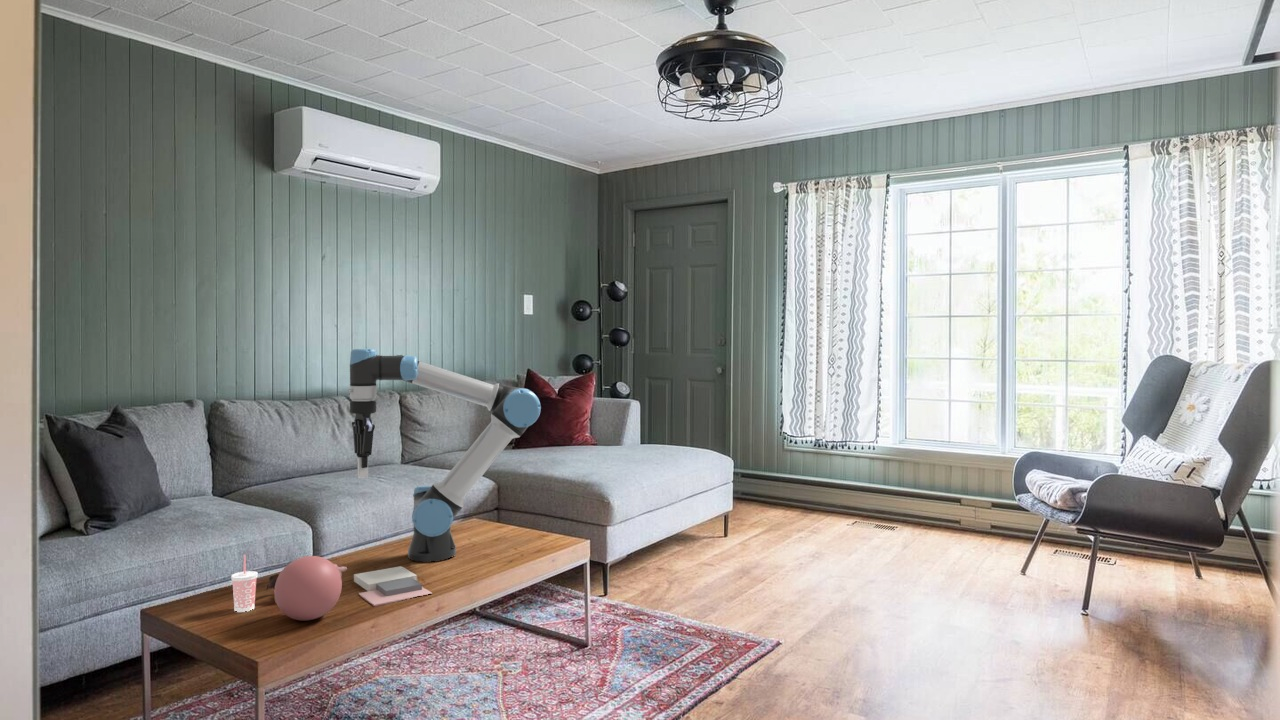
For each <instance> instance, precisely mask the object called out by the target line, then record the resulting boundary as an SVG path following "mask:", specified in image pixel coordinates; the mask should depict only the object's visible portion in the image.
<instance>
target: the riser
mask: <svg viewBox="0 0 1280 720" xmlns="http://www.w3.org/2000/svg"><path fill="white" fill-rule="evenodd" d="M411 577H412V578H413V579H415V580H416V581H418V574H415V573H414V572H412V571H410V570H408V569H407V568H405V567H403V566H402V565H400V566H394V567H388V568H382V569H377V570H376V569H375V570H371V571H366V572H359V573H355V574H354V573H353V582H354V583H355V584H357V585H358V586H360V587H361V588H363V589H364V590H365V591H366V592H368V591H373V590H377V589H376V584H377V583H383V582H388V581H394V580H399V579H405V578H411Z"/></svg>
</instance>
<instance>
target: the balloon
mask: <svg viewBox="0 0 1280 720" xmlns="http://www.w3.org/2000/svg"><path fill="white" fill-rule="evenodd" d="M347 570H348V568H347V566H338V564H336V563H333V562H332V561H330V560H328V559H327V558H324V557H322V556H318V555H307V556H302V557H299V558H297V559H295V560H292V561H291V562H290V563H288V564H287V565H286V566H285V567H284V568H282V570H281V572H280V574H279V573H278V574H279V576H278V578H277V580H276V584H275V589H273V590H274V591H273V592H274V596H275V599H274V601H275V600H276V603H277V604H276V605H277V607H278V609H279V610H280V611H281V612H282V613H283V614H284V615H285V616H286V617H288V618H290V619H293V620H297V621H312V620H316V619H319V618H321V617H323V616H324V615H326V614H328V613H329V612H330V611H331V610H332V609H333V608H334V607H335V605H336V604H337V603H338V600H340V599H339V598H340V596H341V593H342V588H343V587H342V586H343V580H342V575H343V574H342V573H344V572H346V571H347Z"/></svg>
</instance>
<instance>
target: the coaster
mask: <svg viewBox="0 0 1280 720" xmlns="http://www.w3.org/2000/svg"><path fill="white" fill-rule="evenodd" d="M422 587H423V584H422V583H421V582H419V581H418V580H417V581H416V580H415V579H413V578H412V577H411V578H405V579H399V580H394V581H388V582H383V583H377V584H376V589H377V590H378V591H380V592H381V593H382V594H384V595H385V596H391V595H396V594H402V593H407V592H412V591H417V590H422Z"/></svg>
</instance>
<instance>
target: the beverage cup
mask: <svg viewBox="0 0 1280 720" xmlns="http://www.w3.org/2000/svg"><path fill="white" fill-rule="evenodd" d="M246 556H247V555H246V554H243V571H239V572H235V573H233V574H231V577H230V579H231V581H232V591H233V609H234V612H235V611H237V612H236V613H246V612H245V611H247V612H250V610H251V611H253V610H255V604H256V603H255V602H256V591H257V578H258V574H259V573H258V571H253V570H248V571H247V569H246V568H247V566H246V563H247V562H246V561H247V558H246ZM252 609H253V610H252Z"/></svg>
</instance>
